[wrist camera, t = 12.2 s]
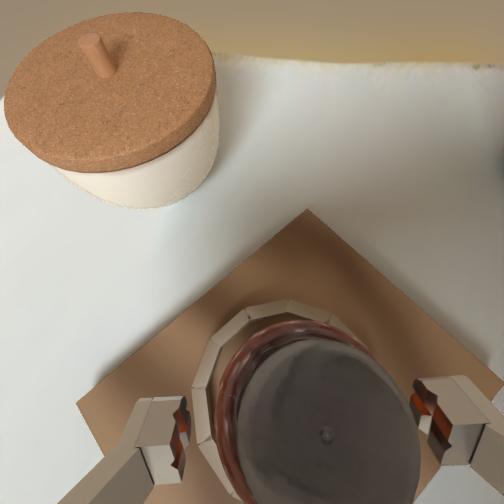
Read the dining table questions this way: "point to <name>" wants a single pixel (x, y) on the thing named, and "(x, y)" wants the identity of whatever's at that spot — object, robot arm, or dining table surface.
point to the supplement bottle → (314, 421)
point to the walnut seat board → (256, 319)
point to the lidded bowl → (120, 108)
